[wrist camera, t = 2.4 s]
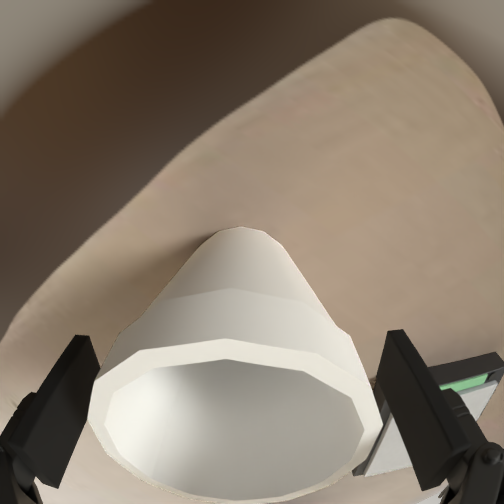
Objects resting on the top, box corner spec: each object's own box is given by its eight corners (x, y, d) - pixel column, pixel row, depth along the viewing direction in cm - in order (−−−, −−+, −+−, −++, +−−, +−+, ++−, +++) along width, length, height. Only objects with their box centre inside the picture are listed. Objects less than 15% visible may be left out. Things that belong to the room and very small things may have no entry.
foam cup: (343, 264, 21) (430, 421, 9) (253, 353, 23) (256, 518, 11) (226, 169, 18) (180, 260, 6) (143, 281, 21) (58, 436, 9)
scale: (377, 375, 24) (388, 401, 22) (495, 351, 24) (510, 369, 22) (349, 459, 30) (354, 480, 27) (451, 435, 30) (459, 452, 27)
